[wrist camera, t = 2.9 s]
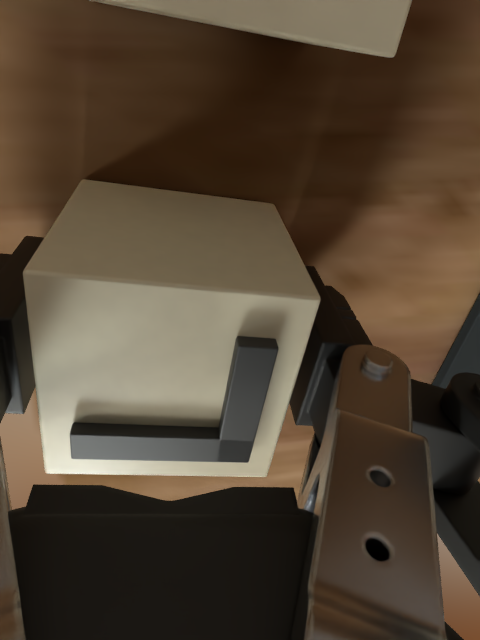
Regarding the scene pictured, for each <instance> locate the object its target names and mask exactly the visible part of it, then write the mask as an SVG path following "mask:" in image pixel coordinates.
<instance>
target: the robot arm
mask: <svg viewBox="0 0 480 640" xmlns="http://www.w3.org/2000/svg"><path fill="white" fill-rule="evenodd" d="M43 239H44V238H43V237H33V236H25V238H24V239H23V240H22V242H21V243H20V244H19V246H18V247H17V248H16V250H15V251H14V252H13V254H12V255H11V254H0V423H1V420H2V418H3V416H4V414H5V413H16V414H24V412H25V410H26V408H27V405H28V403H29V400H30V398H31V395H32V393H33V391H34V388H35V378H34V369H33V360H32V351H31V342H30V333H29V324H28V315H27V306H26V297H25V288H24V279H23V271H24V269H25V267H26V266H27V264H28V263H29V261H30V260H31V258H32V256H33V255H34V253H35V252H36V250H37V249H38V247H39V245H40V244H41V242H42V241H43ZM305 267H306V269H307V271H308V273H309V275H310V277H311V279H312V281H313V283H314V285H315V287H316V289H317V291H318V293H319V295H320V299H321V300H320V304H319V307H318V310H317V313H316V317H315V320H314V323H313V327H312V330H311V333H310V336H309V340H308V343H307V346H306V349H305V353H304V356H303V359H302V363H301V366H300V369H299V372H298V376H297V379H296V382H295V385H294V389H293V392H292V395H291V399H290V402H289V403H290V406H291V410H292V413H293V417H294V420H295V424H296V425H308V426H313V428H314V431H315V433H314V436H313V438H312V441H311V444H310V447H309V452H308V456H307V460H306V465H305V469H304V473H303V478H302V482H301V487H300V491H299V495H298V500H297V501H296V496H295V492H294V488H279V487H232V488H228V489H223V490H219V491H215V492H210V493H206V494H202V495H197V496H193V497H189V498H184V499H180V500H175V501H165V500H160V499H156V498H152V497H147V496H143V495H139V494H135V493H131V492H127V491H123V490H119V489H115V488H111V487H106V486H102V485H33V487H32V490H31V493H30V496H29V499H28V502H27V506H26V507H22V508H18V509H15V510H12V507H11V501H10V495H9V488H8V482H7V477H6V470H5V463H4V458H3V451H2V445H1V438H0V640H464V639H462V637H460V636H459V635H458V634H457V633H456V632H455V631H454V630H453V629H452V628H451V627H450V626H449V625H448V624H447V623H446V622H445V621H444V612H443V599H442V588H441V576H440V565H439V553H438V542H437V534H438V535H439V537H440V538H441V540H442V541H443V543H444V544H445V545H446V547H447V548H448V550H449V551H450V553H451V554H452V556H453V557H454V559H455V560H456V562H457V563H458V565H459V566H460V568H461V569H462V571H463V572H464V574H465V575H466V577H467V578H468V580H469V581H470V583H471V584H472V586H473V587H474V589H475V590H476V591H477V593H478V595H479V596H480V483H479V482H478V481H477V480H478V479H479V477H480V375H479V374H475V373H458V374H456V375H454V376H453V377H452V379H451V380H450V382H449V384H448V386H447V388H446V389H445V388H441V387H438V386H434V385H431V384H427V383H423V382H420V381H416V380H413V379H411V376H410V371H409V369H408V367H407V366H406V364H405V363H404V362H403V361H402V360H401V359H400V358H398V357H397V356H396V355H394V354H392V353H391V352H389V351H387V350H384V349H382V348H379V347H376V346H373V345H372V343H371V342H370V340H369V338H368V337H367V335H366V333H365V331H364V330H363V328H362V326H361V325H360V323H359V321H358V320H356V316H355V314H354V313H353V311H352V310H351V308H350V306H349V304H348V302H347V301H346V299H345V297H344V296H343V295H341V294H340V293H339V292H338V291H336V290H335V289H334V288H333V287H332V286H325V285H324V284H323V282H322V280H321V278H320V276H319V274H318V272H317V271H316V269H315V267H314V266H306V265H305Z"/></svg>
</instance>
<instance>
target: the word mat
mask: <svg viewBox="0 0 480 640" xmlns="http://www.w3.org/2000/svg"><path fill="white" fill-rule="evenodd" d="M458 373H475V374H479V375H480V294H479V296H478V298H477V300H476V301H475V303H474V305H473V307H472V309H471V311H470V313H469V315H468V317H467V319H466V321H465V322H464V324H463V326H462V328H461V330H460V332H459V334H458V336H457V338H456V340H455V341H454V343H453V345H452V347H451V349H450V351H449V353H448V355H447V357H446V359H445V361H444V362H443V364H442V366H441V368H440V370H439V372H438V374H437V376H436V378H435V380H434V381H433V383H432V385H434V386H438V387H441V388H445V389H446V388H447V386H448V384H449V382H450V380H451V379H452V377H453V376H454V375H456V374H458Z"/></svg>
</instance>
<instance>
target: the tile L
mask: <svg viewBox="0 0 480 640" xmlns="http://www.w3.org/2000/svg"><path fill="white" fill-rule="evenodd" d="M23 279H24V288H25V297H26V306H27V315H28V324H29V333H30V342H31V351H32V360H33V369H34V378H35V387H36V396H37V405H38V413H39V422H40V431H41V440H42V449H43V458H44V466H45V472H46V473H48V474H108V475H173V476H237V477H266V476H267V474H268V471H269V467H270V464H271V461H272V457H273V454H274V451H275V448H276V444H277V441H278V438H279V435H280V431H281V428H282V425H283V421H284V418H285V415H286V412H287V408H288V405H289V402H290V399H291V395H292V392H293V389H294V385H295V382H296V379H297V376H298V372H299V369H300V366H301V363H302V359H303V356H304V353H305V349H306V346H307V343H308V340H309V336H310V333H311V330H312V327H313V323H314V320H315V317H316V313H317V310H318V307H319V304H320V300H321V299H320V295H319V293H318V291H317V289H316V287H315V285H314V283H313V281H312V279H311V277H310V275H309V273H308V271H307V269H306V267H305V265H304V263H303V261H302V259H301V257H300V255H299V253H298V251H297V249H296V247H295V245H294V243H293V241H292V239H291V237H290V235H289V233H288V231H287V229H286V227H285V225H284V223H283V221H282V219H281V217H280V215H279V213H278V211H277V209H276V207H275V205H274V204H272V203H264V202H256V201H248V200H241V199H233V198H225V197H217V196H210V195H202V194H194V193H186V192H179V191H171V190H163V189H155V188H148V187H140V186H132V185H124V184H116V183H109V182H101V181H93V180H85V179H83V180H81V182H80V183H79V185H78V186H77V188H76V189H75V191H74V193H73V194H72V196H71V197H70V199H69V200H68V202H67V203H66V205H65V207H64V208H63V210H62V211H61V213H60V214H59V216H58V217H57V219H56V221H55V222H54V224H53V225H52V227H51V228H50V230H49V231H48V233H47V235H46V236H45V238H44V239H43V241H42V242H41V244H40V245H39V247H38V249H37V250H36V252H35V253H34V255H33V256H32V258H31V260H30V261H29V263H28V264H27V266H26V267H25V269H24V271H23Z"/></svg>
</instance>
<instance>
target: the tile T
mask: <svg viewBox="0 0 480 640" xmlns="http://www.w3.org/2000/svg"><path fill="white" fill-rule="evenodd" d="M89 1H94V2H99V3H104V4H109V5H114V6H119V7H124V8H130V9H135V10H140V11H145V12H150V13H155V14H160V15H165V16H170V17H175V18H180V19H185V20H190V21H195V22H200V23H205V24H210V25H215V26H220V27H225V28H231V29H236V30H241V31H246V32H251V33H256V34H261V35H266V36H271V37H276V38H281V39H286V40H291V41H296V42H301V43H306V44H312V45H318V46H324V47H329V48H335V49H341V50H347V51H352V52H358V53H364V54H370V55H376V56H381V57H387V58H392V57H394V56H395V54H396V52H397V48H398V45H399V42H400V38H401V35H402V32H403V29H404V25H405V22H406V19H407V15H408V12H409V9H410V6H411V2H412V0H89Z"/></svg>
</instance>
